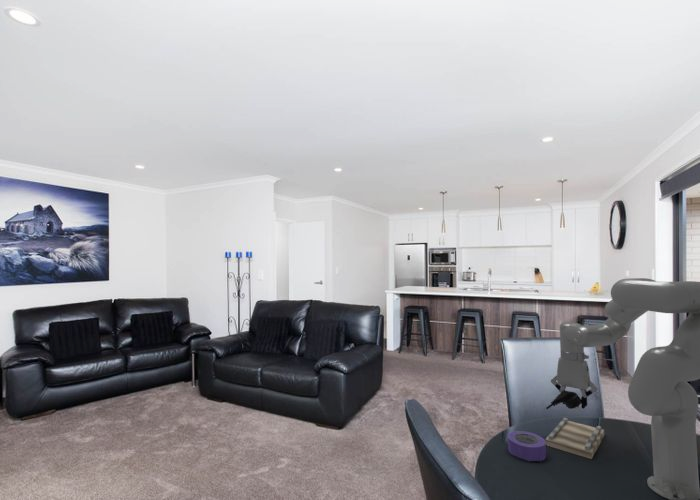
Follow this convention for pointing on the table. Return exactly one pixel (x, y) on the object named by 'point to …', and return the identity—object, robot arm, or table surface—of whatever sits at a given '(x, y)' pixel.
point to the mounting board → (576, 438)
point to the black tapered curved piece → (567, 400)
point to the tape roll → (527, 445)
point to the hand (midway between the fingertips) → (574, 404)
